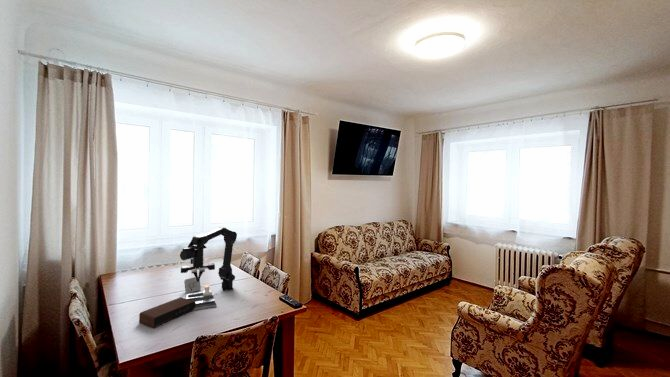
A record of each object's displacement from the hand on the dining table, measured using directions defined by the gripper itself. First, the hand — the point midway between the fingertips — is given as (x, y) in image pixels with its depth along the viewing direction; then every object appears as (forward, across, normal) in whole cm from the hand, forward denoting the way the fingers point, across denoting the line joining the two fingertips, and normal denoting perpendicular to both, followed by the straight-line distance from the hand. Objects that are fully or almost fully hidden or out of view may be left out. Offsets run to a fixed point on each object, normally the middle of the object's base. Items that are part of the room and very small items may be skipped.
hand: (198, 281), depth 175 cm
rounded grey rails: (+12, -2, +12) cm, 17 cm away
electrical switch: (+12, +3, -18) cm, 22 cm away
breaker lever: (+10, -5, 0) cm, 11 cm away
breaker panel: (+12, -1, 0) cm, 12 cm away
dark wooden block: (+12, +14, +16) cm, 25 cm away
